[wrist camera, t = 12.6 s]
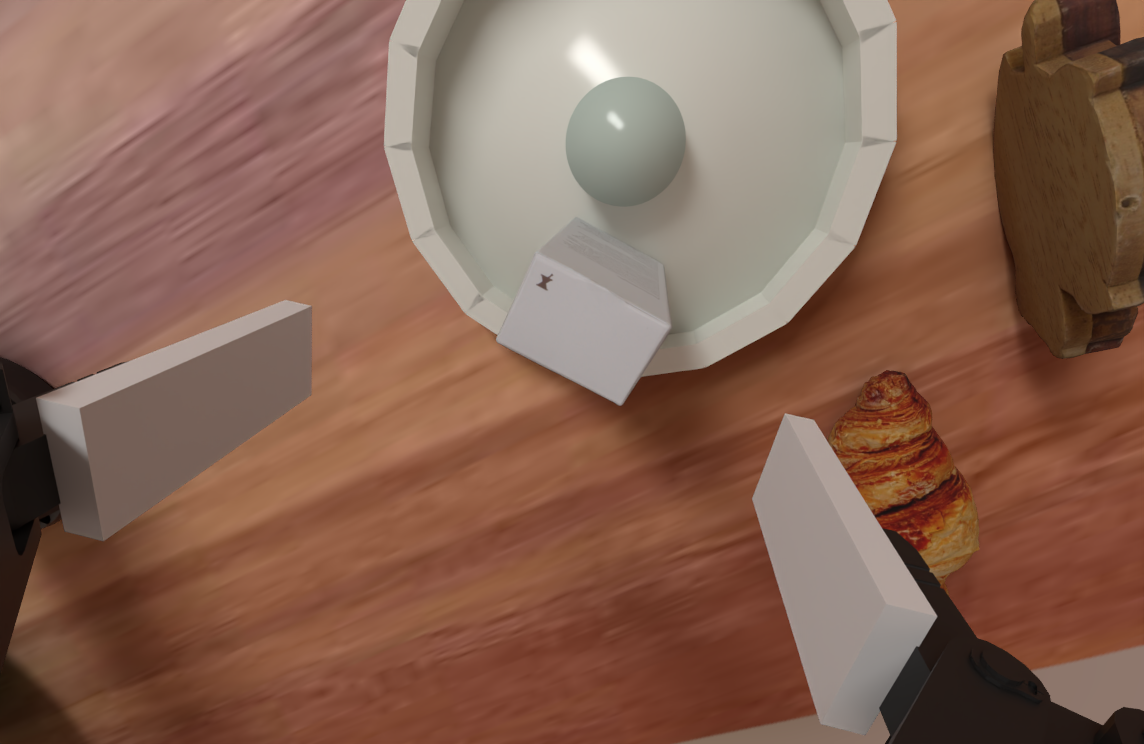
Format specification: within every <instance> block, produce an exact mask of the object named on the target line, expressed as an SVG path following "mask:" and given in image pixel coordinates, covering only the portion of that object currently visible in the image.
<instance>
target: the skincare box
mask: <svg viewBox="0 0 1144 744" xmlns="http://www.w3.org/2000/svg"><path fill="white" fill-rule="evenodd" d="M671 329H672V321H671V316H670V309H669V301H668V293H667V284H666V276H665V268H664V265H663V264H662V263H660V262H658V261H656V260H654V259H653V258H651V257H649V256H647V255H645V254H643V253H642V252H640V251H638V250H636V249H634V248H632V247H631V246H629V245H627V244H625V243H623V242H622V241H620V240H618V239H616V238H614V237H612V236H611V235H609V234H607V233H605V232H603V231H601V230H600V229H598V228H596V227H594V226H592V225H590V224H589V223H587V222H585V221H583V220H581V219H579V218H578V217H575V218H574V219H573V220H571V221H570V222H569V223H568V224H567V225H566V226H565V227H564V228H562V229H561V230H560V231H559V232H558V233H557V234H556V235H555V236H553V237H552V238H551V239H550V240H549V241H548V242H547V243H546V244H545V245H544V246H542V247H541V248H540V249H539V250H538V251H536V252H535V253H534V255H533V258H532V260H531V262H530V265H529V267H528V269H527V272H526V274H525V276H524V278H523V280H522V283H521V285H520V287H519V289H518V291H517V294H516V296H515V298H514V300H513V303H512V305H511V307H510V309H509V311H508V314H507V316H506V318H505V320H504V322H503V325H502V327H501V329H500V331H499V333H498V336H497V338H496V341H497V342H498V343H499V344H501V345H503V346H505V347H507V348H509V349H510V350H512V351H514V352H516V353H518V354H520V355H522V356H524V357H526V358H528V359H530V360H532V361H534V362H535V363H537V364H539V365H541V366H543V367H545V368H547V369H549V370H551V371H553V372H555V373H557V374H559V375H561V376H563V377H565V378H567V379H569V380H571V381H573V382H575V383H577V384H579V385H581V386H583V387H585V388H587V389H589V390H591V391H593V392H595V393H596V394H598V395H600V396H602V397H604V398H606V399H608V400H610V401H612V402H614V403H616V404H617V405H619V406H621V405H623V404H624V402H625V400H626V399H627V397H628V396H629V394H630V393H631V391H632V390H633V388H634V387H635V385H636V384H637V382H638V381H639V379H640V377H641V376H642V374H643V373H644V371H645V370H646V368H647V367H648V365H649V364H650V362H651V361H652V359H653V358H654V356H655V354H656V353H657V351H658V350H659V348H660V346H661V345H662V343H663V342H664V340H665V339H666V337H667V335H668V334H669V332H670V331H671Z"/></svg>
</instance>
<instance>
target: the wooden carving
mask: <svg viewBox="0 0 1144 744" xmlns="http://www.w3.org/2000/svg"><path fill="white" fill-rule="evenodd" d="M1021 36H1022V46H1021V47H1018V48H1015V49H1013V50H1010V51H1007V52H1006V53H1005V54H1003V58H1002V62H1001V66H1000V70H999V76H998V88H997V99H996V107H995V120H994V167H995V180H996V187H997V198H998V203H999V209H1000V214H1001V219H1002V223H1003V227H1004V231H1005V234H1006V238H1007V241H1008V244H1009V246H1010V249H1011V251H1012V254H1013V259H1014V262H1015V268H1016V277H1015V279H1016V284H1015V292H1016V296H1017V304H1018V309H1019V312H1020V314H1021V316H1022V317H1024V319H1025V320H1026V321H1027V323H1028V324H1030V325H1031V326H1032V327H1033V328H1034V330H1035V331H1036V332H1037V334H1038V335H1039V337H1040V338H1041V339H1042V340H1043V341H1044V342H1045V343H1046V344H1047V346H1048V347H1049V349H1050V352H1051V353H1052V354H1053V355H1054V356H1056V357H1057V358H1062V359H1064V358H1073V357H1077V356H1080V355H1083V354H1087V353H1092V352H1098V351H1103V350H1108V349H1112V348H1117V347H1119V346H1120V345H1121V343H1122V340H1123V338H1124V336H1126V335H1127V334H1128V333H1130V331H1131V330H1132V327H1133V324H1134V321H1135V319H1136V316H1137V314H1138V308H1137V306H1140V305H1141V304H1143V303H1144V37H1142V38H1137V39H1134V40H1131V41H1129V42H1126V43H1123V44H1121V45H1120V19H1119V11H1118V6H1117V2H1116V0H1035V1H1034V2H1033V3H1032V4H1031V6H1030V7H1029V9H1028V11H1027V13H1026V15H1025V17H1024V21H1023V26H1022V32H1021Z"/></svg>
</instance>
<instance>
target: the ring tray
mask: <svg viewBox="0 0 1144 744" xmlns="http://www.w3.org/2000/svg"><path fill="white" fill-rule="evenodd" d="M894 21H896V19H895V17H894V14H893V12H892V10H891V7H890V5H889V3H888V1H887V0H406V2H405V4H404V7H403V9H402V11H401V14H400V16H399V18H398V21H397V23H396V25H395V28H394V30H393V32H392V35H391V37H390V40H391V41H389V55H388V74H387V94H386V114H385V134H384V146H386V147H384V149H385V152H386V156H387V159H388V162H389V166H390V169H391V173H392V176H393V179H394V183H395V186H396V189H397V193H398V196H399V199H400V203H401V206H402V209H403V213H404V216H405V220H406V223H407V226H408V230H409V233H410V236H411V240H413V241H412V242H413V243H414V244H415V246H416V247H417V248H418V250H419V251H420V253H421V254H422V255H423V257H424V258H425V259H426V261H427V262H428V263H429V265H430V266H431V268H432V269H433V270H434V272H435V273H436V274H437V276H438V277H439V279H440V280H441V281H442V283H443V284H444V285H445V287H446V288H447V289H448V291H449V292H450V294H451V295H452V296H453V298H454V299H455V300H456V302H457V303H458V304H459V306H460V307H461V309H462V310H463V311H464V313H466V312H467V313H466V315H468V316H470V317H471V318H473V319H474V320H476V321H477V322H479V323H480V324H482V325H483V326H485V327H486V328H488V329H489V330H491V331H492V332H494V333H495V334H497V335H498V333H499V331H500V329H501V327H502V325H503V322H504V320H505V318H506V316H507V314H508V311H509V309H510V307H511V305H512V303H513V300H514V298H515V296H516V294H517V291H518V289H519V287H520V285H521V283H522V280H523V278H524V276H525V274H526V272H527V269H528V267H529V265H530V262H531V260H532V258H533V255H534V253H535V252H536V251H538V250H539V249H540V248H541V247H542V246H544V245H545V244H546V243H547V242H548V241H549V240H550V239H551V238H552V237H553V236H555V235H556V234H557V233H558V232H559V231H560V230H561V229H562V228H564V227H565V226H566V225H567V224H568V223H569V222H570V221H571V220H573V219H574V218H575V217H578V218H579V219H581V220H583V221H585V222H587V223H589V224H590V225H592V226H594V227H596V228H598V229H600V230H601V231H603V232H605V233H607V234H609V235H611V236H612V237H614V238H616V239H618V240H620V241H622V242H623V243H625V244H627V245H629V246H631V247H632V248H634V249H636V250H638V251H640V252H642V253H643V254H645V255H647V256H649V257H651V258H653V259H654V260H656V261H658V262H660V263H662V264H663V265H664V268H665V276H666V284H667V293H668V301H669V309H670V316H671V321H672V329H671V331H670V332H669V334H668V335H667V337H666V339H665V340H664V342H663V343H662V345H661V346H660V348H659V350H658V351H657V353H656V354H655V356H654V358H653V359H652V361H651V362H650V364H649V365H648V367H647V368H646V370H645V371H644V373H643V374H642V376H641V377H643V376H650V375H658V374H665V373H672V372H679V371H687V370H694V369H701V368H704V366H705V367H708V366H710V365H711V364H713V363H715V362H717V361H719V360H721V359H723V358H724V357H726V356H728V355H730V354H732V353H734V352H735V351H737V350H739V349H741V348H743V347H745V346H747V345H748V344H750V343H752V342H754V341H756V340H758V339H760V338H761V337H763V336H765V335H767V334H769V333H771V332H773V331H774V330H776V329H778V328H780V327H782V326H784V325H786V324H787V323H786V322H789V321H790V320H791V319H792V318H793V317H794V316H795V314H796V313H797V312H798V311H799V310H800V309H801V308H802V307H803V305H804V304H805V303H806V302H807V301H808V300H809V299H810V298H811V296H812V295H813V294H814V293H815V292H816V291H817V290H818V288H819V287H820V286H821V285H822V284H823V283H824V282H825V281H826V279H827V278H828V277H829V276H830V275H831V274H832V273H833V272H834V270H835V269H836V268H837V267H838V266H839V265H840V264H841V262H842V261H843V260H844V259H845V258H846V257H847V256H848V255H849V253H850V252H851V251H852V250H853V249H854V248H855V246H853V245H857V242H858V239H859V237H860V234H861V232H862V229H863V227H864V224H865V221H866V219H867V216H868V214H869V211H870V209H871V206H872V203H873V201H874V198H875V196H876V193H877V191H878V188H879V185H880V183H881V180H882V178H883V175H884V173H885V170H886V167H887V165H888V162H889V160H890V157H891V155H892V152H893V149H894V147H895V144H896V142H893V141H896V140H897V22H895V23H893V22H894ZM414 239H415V240H414Z"/></svg>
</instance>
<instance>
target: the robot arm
mask: <svg viewBox="0 0 1144 744" xmlns="http://www.w3.org/2000/svg"><path fill="white" fill-rule="evenodd" d="M311 372H312V306H309V305H305V304H301V303H296V302H292V301H287V300H284V301H282V302H279V303H277V304H274V305H272V306H269V307H266V308H264V309H261V310H259V311H256V312H254V313H251V314H249V315H246V316H243V317H241V318H238V319H236V320H233V321H231V322H228V323H226V324H223V325H221V326H218V327H215V328H213V329H210V330H208V331H205V332H203V333H200V334H198V335H195V336H192V337H190V338H187V339H185V340H182V341H180V342H177V343H175V344H172V345H170V346H167V347H164V348H162V349H159V350H157V351H154V352H152V353H149V354H147V355H144V356H141V357H139V358H136V359H134V360H131V361H128V362H123V363H119V364H117V365H114V366H112V367H109V368H107V369H104V370H101V371H99V372H97V374H96V375H94V374H91V375H89V376H86V377H83V378H81V379H78V380H77V382H71V383H68V384H65V385H63V386H60V387H58V388H55V389H52V388H51V387H50V386H49V385H48V384H47V383H45V382H44V381H43V380H42V379H40V378H39V377H37V376H36V375H35V374H33V373H32V372H30V371H28V370H27V369H25V368H23V367H21V366H20V365H18V364H16V363H14V362H12V361H9V360H7V359H4V358H1V357H0V674H1V671H2V667H3V664H4V660H5V657H6V654H7V650H8V647H9V643H10V640H11V636H12V633H13V630H14V626H15V623H16V619H17V616H18V613H19V609H20V606H21V602H22V599H23V595H24V592H25V589H26V585H27V582H28V578H29V575H30V572H31V568H32V565H33V561H34V558H35V554H36V551H37V548H38V544H39V541H40V537H41V529H42V528H46V527H48V526H50V525H52V524H55V523H56V522H58V521H60V520H61V519H62V522H63V526H64V531H65V532H69V533H73V534H77V535H81V536H85V537H89V538H92V539H96V540H100V541H105V540H106V539H107V538H109V537H110V536H112V535H113V534H115V533H116V532H117V531H119V530H120V529H122V528H123V527H125V526H126V525H127V524H129V523H130V522H132V521H133V520H134V519H136V518H137V517H139V516H140V515H142V514H143V513H144V512H146V511H147V510H149V509H150V508H152V507H153V506H154V505H156V504H157V503H159V502H160V501H161V500H163V499H164V498H166V497H167V496H169V495H170V494H171V493H173V492H174V491H176V490H177V489H179V488H180V487H181V486H183V485H184V484H186V483H187V482H188V481H190V480H191V479H193V478H194V477H196V476H197V475H198V474H200V473H201V472H203V471H204V470H206V469H207V468H208V467H210V466H211V465H213V464H214V463H215V462H217V461H218V460H220V459H221V458H223V457H224V456H225V455H227V454H228V453H230V452H231V451H233V450H234V449H235V448H237V447H238V446H240V445H241V444H242V443H244V442H245V441H247V440H248V439H250V438H251V437H252V436H254V435H255V434H257V433H258V432H260V431H261V430H262V429H264V428H265V427H267V426H268V425H269V424H271V423H272V422H274V421H275V420H277V419H278V418H279V417H281V416H282V415H284V414H285V413H287V412H288V411H289V410H291V409H292V408H294V407H295V406H296V405H298V404H299V403H301V402H302V401H304V400H305V399H306V398H308V397H309V396H311ZM752 500H753V503H754V506H755V510H756V513H757V516H758V520H759V523H760V526H761V530H762V533H763V536H764V539H765V543H766V546H767V549H768V553H769V556H770V559H771V563H772V566H773V569H774V572H775V576H776V579H777V582H778V586H779V589H780V592H781V596H782V599H783V602H784V605H785V609H786V612H787V615H788V619H789V622H790V625H791V629H792V632H793V635H794V638H795V642H796V645H797V648H798V652H799V655H800V658H801V662H802V665H803V668H804V671H805V675H806V678H807V681H808V685H809V688H810V691H811V695H812V698H813V701H814V704H815V708H816V711H817V714H818V718H819V721H820V724H822V725H826V726H830V727H834V728H838V729H842V730H846V731H850V732H854V733H858V734H862V735H866V734H867V732H868V730H869V729H870V727H871V725H872V724H873V722H874V720H875V719H876V717H877V716H878V714H879V712H880V711H881V714H882V716H883V718H884V721H885V723H886V726H887V728H888V730H889V733H890V736H889V738H888V740H887V741H886V743H885V744H1144V711H1142V710H1140V709H1133V708H1126V707H1123V708H1121V709H1119V710H1117V711H1115V712H1114V713H1113V714H1112V716H1111V717H1110V718H1109V719H1108V720H1107V722H1106V723H1105V724H1104V725H1101V724H1099V723H1096V722H1094V721H1092V720H1090V719H1088V718H1086V717H1083V716H1081V715H1079V714H1077V713H1075V712H1072V711H1070V710H1068V709H1066V708H1064V707H1062V706H1060V705H1058V704H1055V703H1053V702H1051V700H1050V695H1049V693H1048V692H1047V690H1046V689H1045V687H1044V685H1043V684H1042V682H1041V681H1040V680H1039V679H1038V678H1037V677H1036V676H1035V675H1034V674H1033V673H1032V672H1031V671H1030V670H1029V669H1028V668H1027V667H1026V666H1025V665H1024V664H1023V663H1022V662H1020V661H1019V660H1017V659H1016V658H1015V657H1013V656H1012V655H1011V654H1009V653H1008V652H1006V651H1005V650H1003V649H1001V648H999V647H997V646H995V645H993V644H991V643H989V642H987V641H984V640H981V639H978V638H977V637H976V635H975V634H974V633H973V631H972V630H971V628H970V627H969V625H968V624H967V622H966V621H965V619H964V618H963V616H962V615H961V613H960V612H959V611H958V609H957V608H956V606H955V605H954V603H953V602H952V600H951V599H950V597H949V596H948V594H947V593H946V592H945V590H944V589H942V588H940V586H941V584H940V583H939V581H938V580H937V578H936V577H935V575H934V574H933V573H932V572H930V568H929V567H928V565H927V564H926V562H925V561H924V559H923V558H922V556H921V555H920V554H919V552H918V551H917V549H915V548H914V547H913V546H912V545H911V544H910V543H909V542H908V541H906V540H905V539H904V538H903V537H902V536H901V535H900V534H899V533H897V532H896V531H893V530H889V529H884V528H881V526H880V524H879V523H878V521H877V520H876V518H875V516H874V515H873V513H872V512H871V510H870V508H869V507H868V505H867V504H866V502H865V500H864V499H863V497H862V496H861V494H860V493H859V491H858V489H857V488H856V486H855V485H854V483H853V481H852V480H851V478H850V477H849V475H848V473H847V472H846V470H845V469H844V467H843V466H842V464H841V462H840V461H839V459H838V458H837V456H836V454H835V453H834V451H833V450H832V448H831V446H830V445H829V443H828V442H827V440H826V439H825V437H824V435H823V434H822V432H821V431H820V429H819V427H818V426H817V424H816V423H815V421H814V420H812V419H807V418H803V417H798V416H794V415H790V414H785V415H784V417H783V420H782V422H781V425H780V428H779V430H778V433H777V435H776V438H775V441H774V443H773V446H772V448H771V451H770V454H769V456H768V459H767V461H766V464H765V467H764V469H763V472H762V475H761V477H760V480H759V482H758V485H757V488H756V490H755V493H754V495H753V498H752Z"/></svg>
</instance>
